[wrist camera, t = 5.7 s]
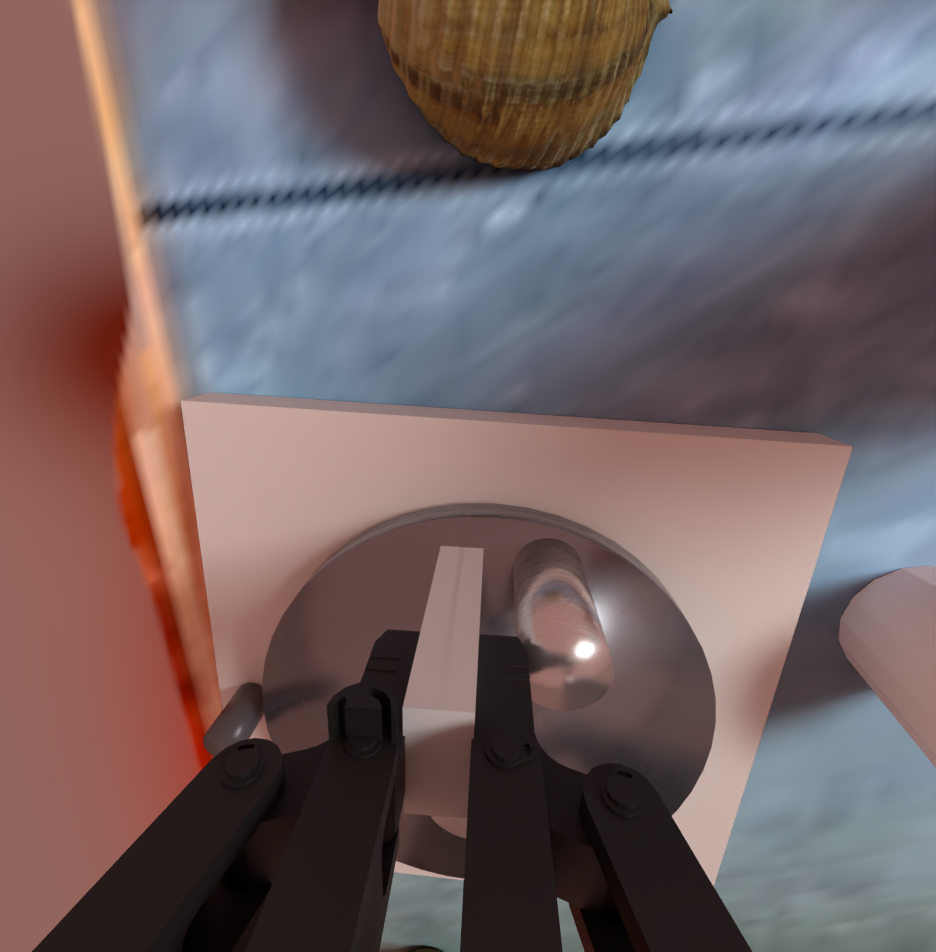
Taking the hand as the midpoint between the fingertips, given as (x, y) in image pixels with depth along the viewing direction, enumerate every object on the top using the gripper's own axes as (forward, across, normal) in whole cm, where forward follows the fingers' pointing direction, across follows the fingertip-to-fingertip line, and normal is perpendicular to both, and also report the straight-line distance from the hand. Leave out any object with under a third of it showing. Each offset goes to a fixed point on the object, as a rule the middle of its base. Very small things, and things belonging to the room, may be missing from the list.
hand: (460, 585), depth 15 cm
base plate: (+6, -1, +7) cm, 9 cm away
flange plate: (+3, 0, +8) cm, 8 cm away
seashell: (+6, -1, -17) cm, 18 cm away
